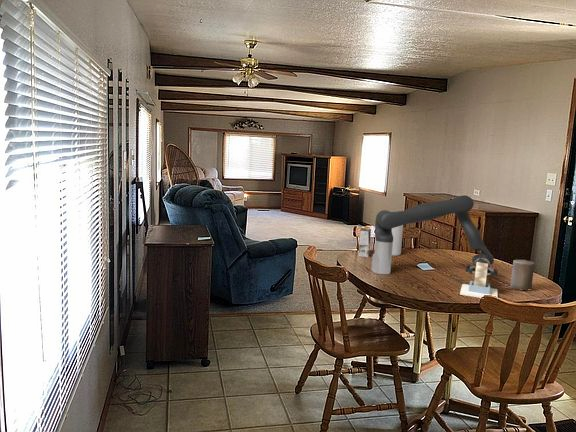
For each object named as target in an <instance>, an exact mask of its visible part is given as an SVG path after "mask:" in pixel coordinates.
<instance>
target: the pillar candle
mask: <svg viewBox="0 0 576 432" xmlns="http://www.w3.org/2000/svg"><path fill="white" fill-rule="evenodd" d="M534 271H535V262H533V261H531V260H526V259H514V260H513V262H512V270H511V279H510V284H509V285H510V286H511V287H512V288H511V287H510V286H509V287H510V288H511V289H513V288H516V289H515V290H517V289H522V290H528V289H531V290H532V288H533V287H532V286H533V281H534V280H533V279H534ZM522 290H521V291H522Z"/></svg>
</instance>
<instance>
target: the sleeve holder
mask: <svg viewBox="0 0 576 432" xmlns="http://www.w3.org/2000/svg"><path fill="white" fill-rule="evenodd" d="M459 295H460V296H461V295H462V296H466V297H474V298H481V297H482V296H484V295H492V296H496V297H497V298H498V288H492V287H491V283H490V282H489V283H487V282H486V285H485V287H481V286H475V285H474V280H470V281H469V284H468V283H467V284H466V283H462V285H461V288H460V292H459ZM481 299H482V298H481Z"/></svg>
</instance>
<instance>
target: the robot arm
mask: <svg viewBox="0 0 576 432" xmlns="http://www.w3.org/2000/svg"><path fill="white" fill-rule="evenodd" d="M474 205H475V204H474V200H473V198H471V197H470V196H468V195H458V196H456V197H454V198H451V199H447V200H439V201H438V200H437V201H430V202H425V203H420V204H416V205H413V206H411V207H409V208H407V209H404V210H398V211H389V210H387V209H384V210H380V211H378V212H377V214H376V216H375V223H374V225H375V226H374V227H375V228H374V235H375V240H374V241H375V242H374V243H375V244H374V253H372V261H371V272H373V273H374V274H378V275H390V274H391V270H392V269H391V268H392V258H393V257H392V248H393V235H392V228H395V227H398V226H401V225H403V226H404V225H408V224H415V223H421V222H427V221H431V220H435V219H439V218H441V217H444V216H447V215H452V214H454V215H455V216H456V218H457V220H458V221H459V224H460V226H461V228H462V230H463V232H464V234H465V237H466V239H467V242H468V244H469V248H470V249H471V250H472V252H473V251H481V252H482V253H479V254H475V255H473V256H472V259H471V262H472V264H473V265H472V266H471V264H466V266H465V272H466V273H468V274H470V275H472V274H475V271H476V263H477V262H480V263H487V264H488V268H487V276H489V277H490V278H492V277H494V276H495V277H498V274H499V273H498V272H499V269H498V268H497V267H494V268H493V269H492V268H491V265H493V264H494V261H495V259H494V256H493V254H492V253H491V252H490V251H489V249H488V248H487V246H486V245H485V243H484V240H483V237H482V236H481V233H480V231H479V229H478V228H477V227H476V225H475V223H474V222H473V221H472V219H471V217H470V213H469V212H470V211H472V209H473V207H474Z"/></svg>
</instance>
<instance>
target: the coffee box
mask: <svg viewBox="0 0 576 432" xmlns="http://www.w3.org/2000/svg"><path fill="white" fill-rule="evenodd" d="M371 235H372V229H371V228H360V231H359V244H358V257H363V258H369V255H370V248H371V247H370V246H371V238H372V237H371Z"/></svg>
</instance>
